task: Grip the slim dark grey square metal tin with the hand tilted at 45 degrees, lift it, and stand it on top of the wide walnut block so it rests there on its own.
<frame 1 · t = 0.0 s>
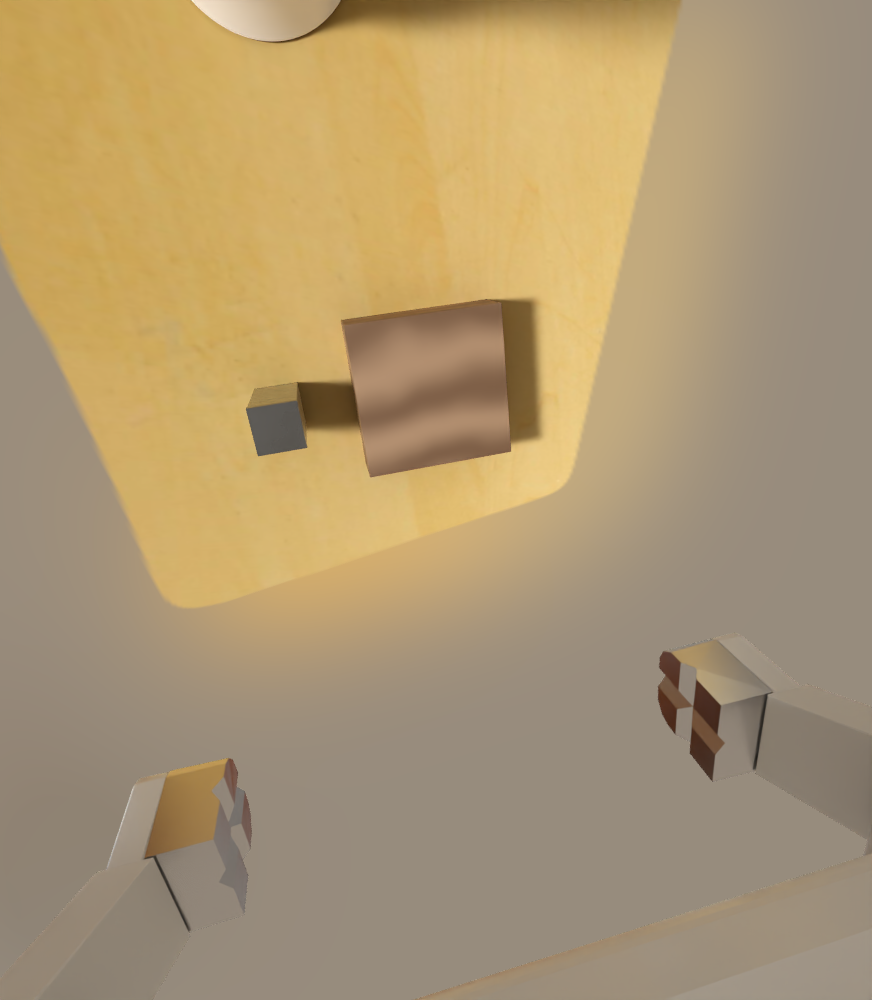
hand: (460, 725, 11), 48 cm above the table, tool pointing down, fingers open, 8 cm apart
walnut block: (423, 382, 57), on the table
grey tin: (280, 406, 55), on the table
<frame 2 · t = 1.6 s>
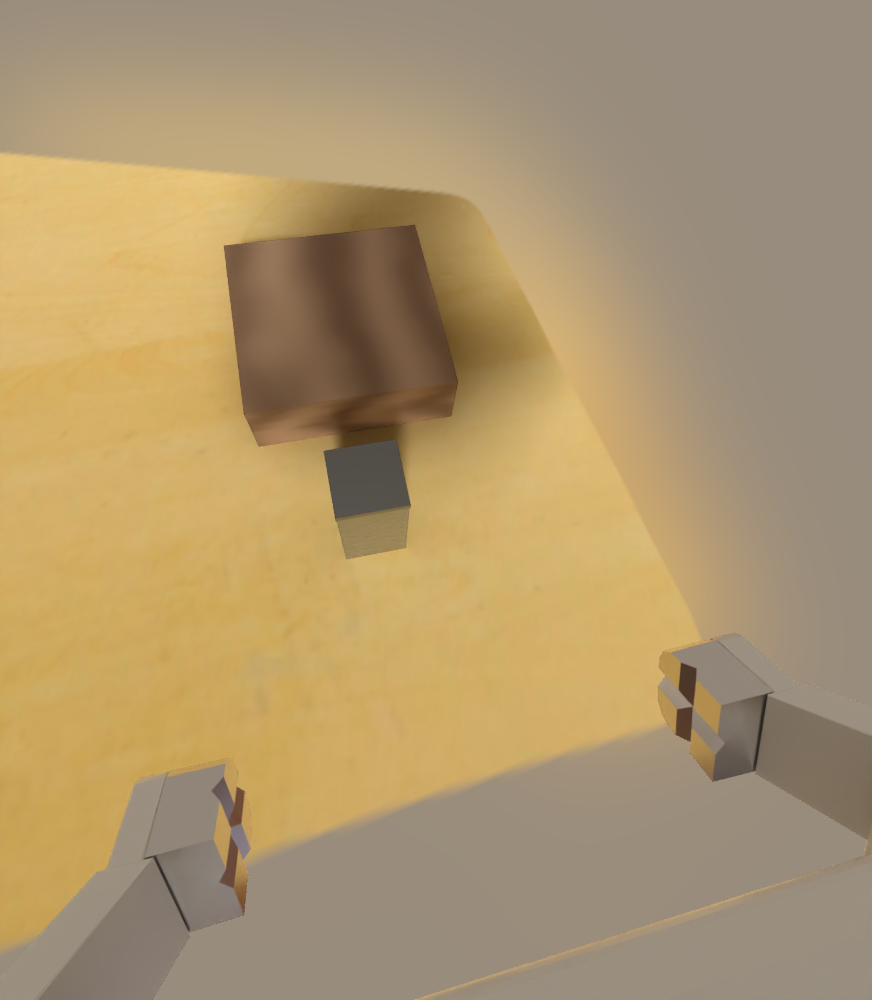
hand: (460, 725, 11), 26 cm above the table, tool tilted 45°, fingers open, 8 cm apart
walnut block: (342, 354, 45), on the table
grey tin: (370, 525, 39), on the table
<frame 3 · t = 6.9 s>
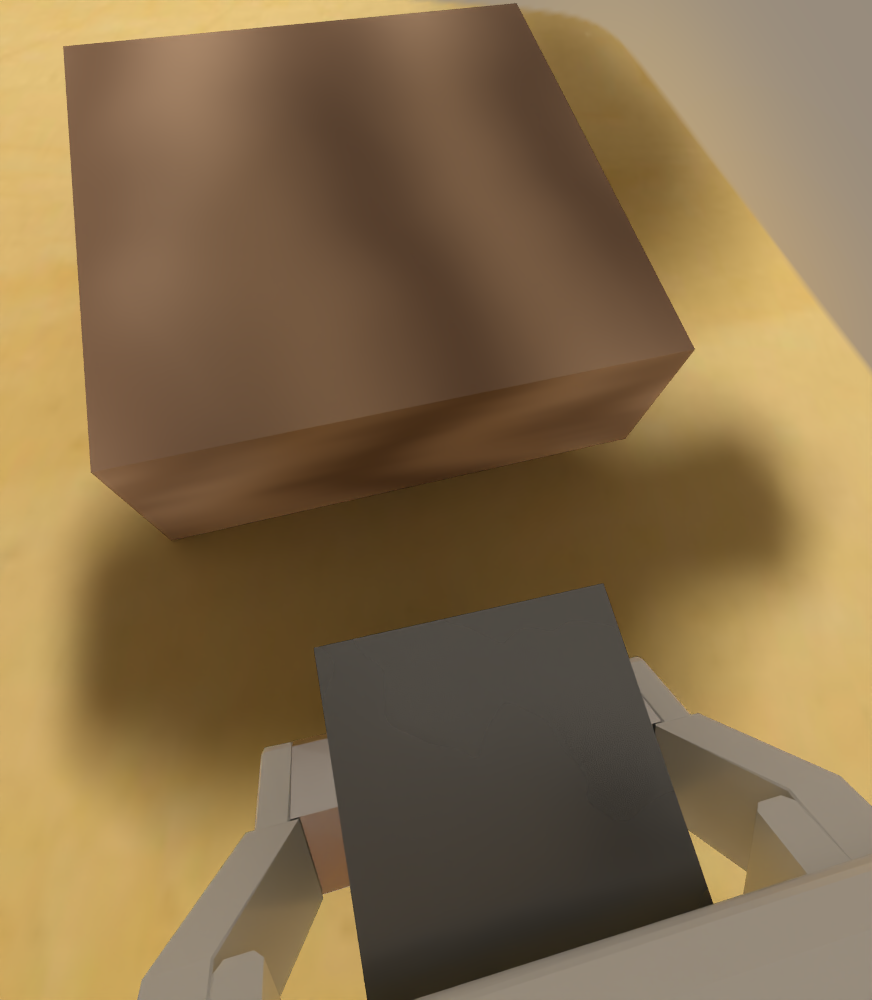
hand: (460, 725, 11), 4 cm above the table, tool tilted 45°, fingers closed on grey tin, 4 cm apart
walnut block: (362, 311, 20), on the table
grey tin: (449, 754, 15), on the table, touching gripper
when the fingers open (11 cm above the table, at t = 13.1 s): grey tin drops 2 cm, resting on walnut block.
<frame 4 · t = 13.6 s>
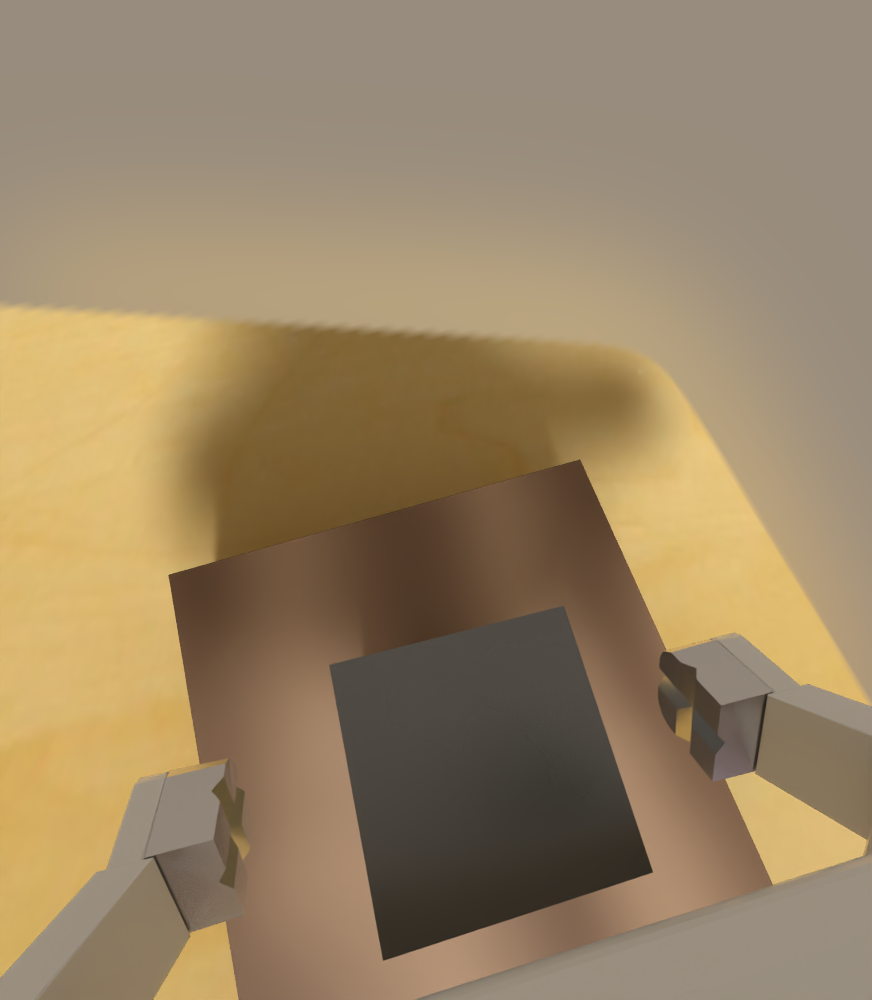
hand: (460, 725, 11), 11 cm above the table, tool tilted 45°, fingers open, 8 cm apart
walnut block: (442, 731, 21), on the table, touching grey tin
grey tin: (447, 747, 16), point 4 cm above the table, touching walnut block
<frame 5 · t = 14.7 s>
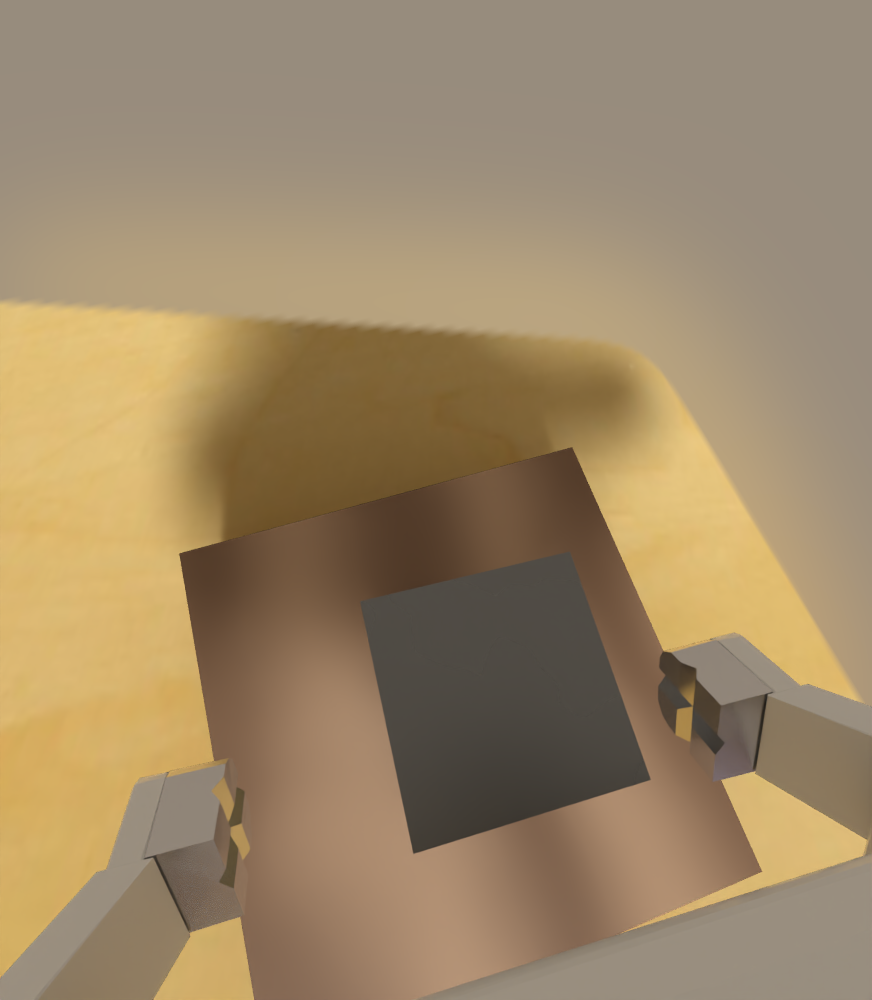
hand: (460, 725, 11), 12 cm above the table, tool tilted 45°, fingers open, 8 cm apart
walnut block: (439, 708, 22), on the table, touching grey tin
grey tin: (453, 707, 17), point 5 cm above the table, touching walnut block
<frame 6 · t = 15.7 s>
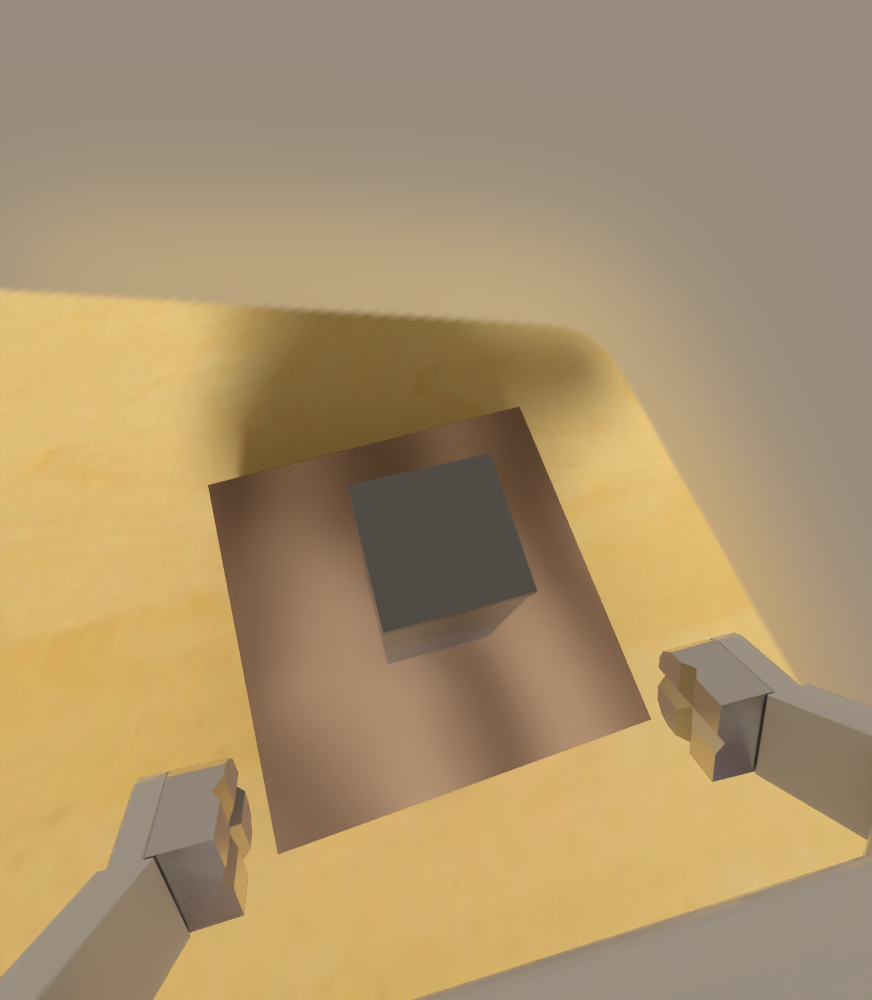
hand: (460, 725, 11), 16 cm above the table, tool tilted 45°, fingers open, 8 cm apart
walnut block: (414, 619, 27), on the table, touching grey tin
grey tin: (425, 599, 23), point 4 cm above the table, touching walnut block
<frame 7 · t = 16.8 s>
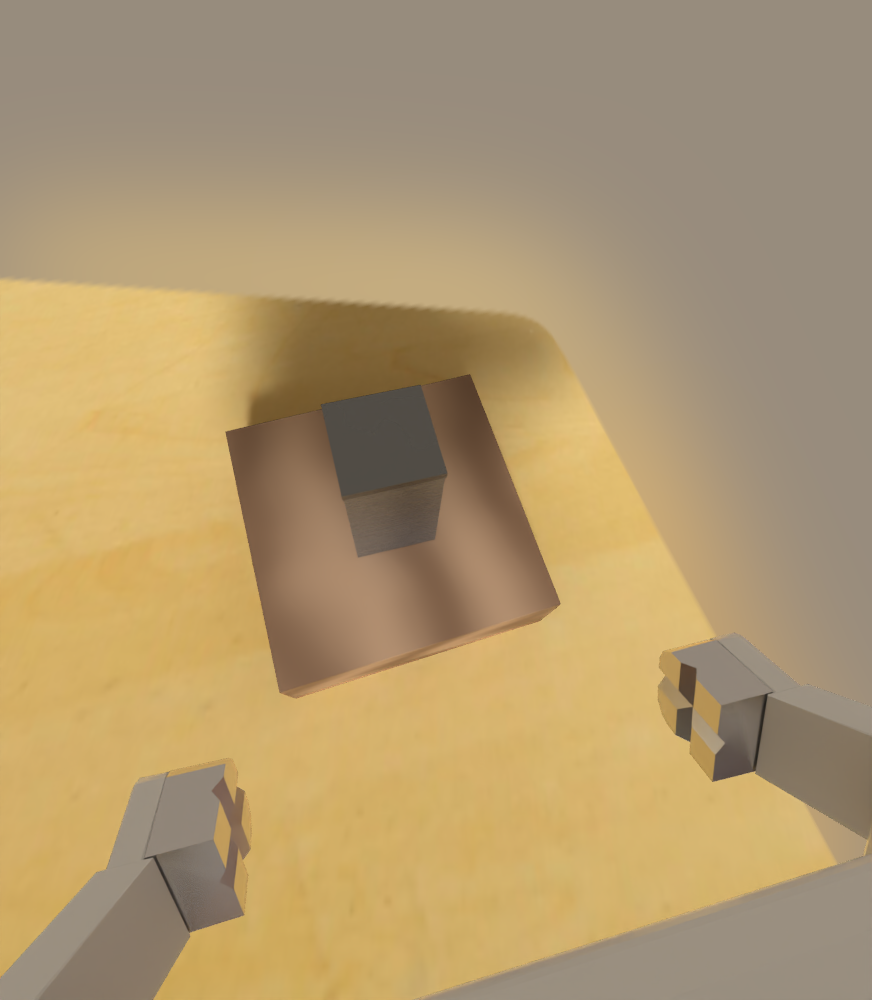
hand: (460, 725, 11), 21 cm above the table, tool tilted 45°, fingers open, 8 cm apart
walnut block: (387, 543, 34), on the table, touching grey tin
grey tin: (387, 512, 30), point 5 cm above the table, touching walnut block
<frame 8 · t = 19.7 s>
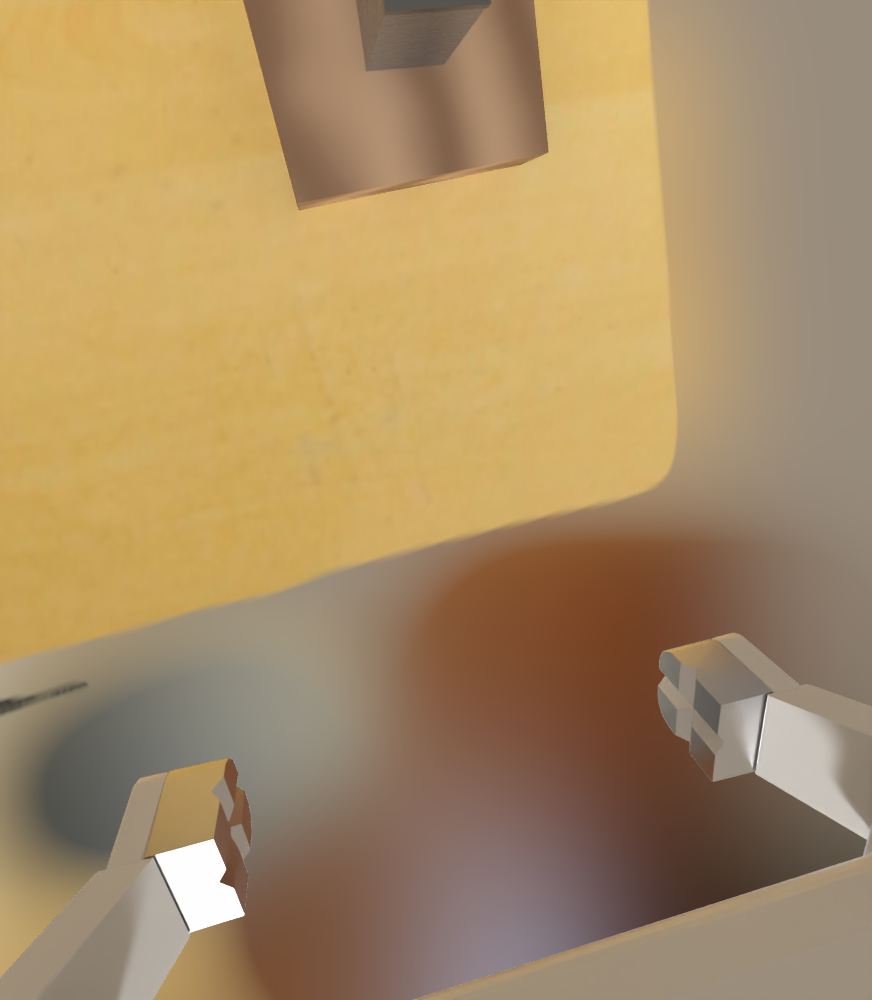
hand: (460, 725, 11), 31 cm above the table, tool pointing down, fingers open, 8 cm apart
walnut block: (384, 50, 33), on the table, touching grey tin
grey tin: (399, 18, 28), point 4 cm above the table, touching walnut block
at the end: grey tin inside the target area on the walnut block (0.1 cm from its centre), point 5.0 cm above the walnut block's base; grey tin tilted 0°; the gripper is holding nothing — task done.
